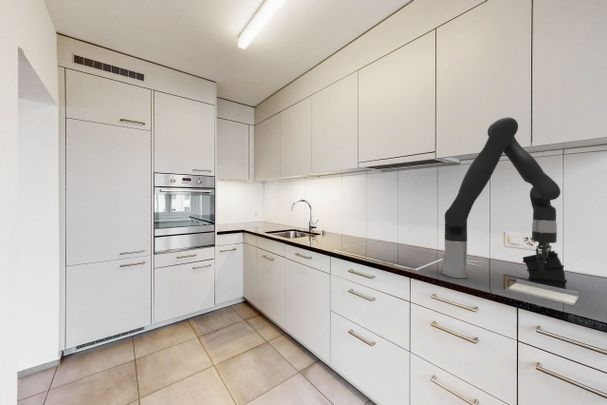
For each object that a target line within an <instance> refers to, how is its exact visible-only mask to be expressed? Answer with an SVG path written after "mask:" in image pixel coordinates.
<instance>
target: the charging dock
mask: <svg viewBox="0 0 607 405" xmlns="http://www.w3.org/2000/svg"><path fill="white" fill-rule="evenodd" d="M508 290H509V291H512V292H515V293H516V292H517V293H521V294H526V295H528V296H529V295H530V296H533V297H534V296H535V297H538V298H541V299H546V300H549V301H554V302H558V303H563V304H567V305H570V306H575V304H576V303H577V301H578V300H579V295H580V294H579V292H580V291H575V290H571V289H566V288H565V289H562V288H557V287H552V286H548V285H543V284H538V283H533V282H529V280H528V281H527V280H523V279H519V278H516V279H515V283H514V284H512V285H510V286H509V287H508Z"/></svg>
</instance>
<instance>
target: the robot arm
mask: <svg viewBox="0 0 607 405" xmlns="http://www.w3.org/2000/svg"><path fill="white" fill-rule="evenodd" d="M518 130H519V123H518V121H517V120H516V119H515V118H513V117H509V116H508V117H503V118H499V119H497V120H496V121H494V122H493V123H491V124H490V125H489V127H488V129H487V132H486V133H487V136H488V139H487V140H486V143H485V144H484V146H483V148H482V150H481V151H480V152H479V153H478V155H477V156H476V157H475V159H474V160H473V161H472V163H471V164H470V165H469V167H468V169H467V171H466V173H465V175H464V178H463V179H462V182H461V185H460V187H459V190H458V192H457V195H456V197H455V199H454V200H453V201H452V203H451V204H450V206H449V208H447V210H446V211H445V213H444V254H442V274H443V275H444V276H448V277H450V278H454V279H466V278H468V264H467V261H468V218H469V216H470V213H471V211H472V208H473V206H474V204H475V202H476V201H477V199H478V198H479V197H480V195H481V193H482V192H483V191H484V189H485V188H486V186H487V184H488V182H489V180H490V179H491V177H492V175H493V173H494V171H495V169H496V167H497V165H498V164H499V161H500V159H501V157H502V154H504V155H505V156H506V157H507V158H508V160H509V161H510V162H511V164H512V165H513V166H514V168H515V169H516V171H517V172H518V174H519V175H520V177H521V178H522V180H523V181H524V182H525V183H528V184H530V185H531V186H532V187H531V188H530V191H529V198H530V204H531V207H532V223H531V240H532V241H533V242H536V243H538V244H537V245H536V249H535V255H536V257H537V262H539V271H541V272H546V263H547V261H546V260H547V258H548V253H549V252H550V251H552V245H550V244H556V243H557V240H558V239H557V236H558V234H557V233H558V232H557V231H558V225H557V209H556V208H555V206H553V205H552V203H551V201H553V200H557V199H558V198H559V197H560V195H561V188H560V187H559V185H558V183H556V181H554V180H553V178H552V177H550V176H549V175H547V173H545V171H544V170H543V168H542V167H541V166H540V164H539V163H538V161H537V160H536V159H535V158H534V157H533V155H531V154H530V152H528V151H527V150H525V149H524V148H523V147H522V145H521V144H520V143H519V141H517V139H516V137H515V136H516V134H517V133H518ZM545 255H546V256H545ZM540 257H542V258H543V259H540Z"/></svg>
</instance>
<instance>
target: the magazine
mask: <svg viewBox="0 0 607 405" xmlns="http://www.w3.org/2000/svg"><path fill="white" fill-rule="evenodd" d="M545 256H546V255H545ZM540 259H543V258H542V257H540ZM546 261H547V263H546V272H541V271H539V262H537V257H536V254H532V255H528V256H527V255H525V256H523V257H522V263H524V264H525V265H526V267H527V268H526V272H528V276H529V277H527V279H528V282H533V283H538V284H543V285H548V286H552V287H557V288H562V289H566V287H567V286H566V284H567V283H568V279H566V274H565V270H564V268H565V266H564V264H562V262H561V259H560V258H559V253H558V252H556V251H555V250H551V251H550V252H549V253H548V258H547V260H546Z"/></svg>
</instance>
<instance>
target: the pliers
mask: <svg viewBox="0 0 607 405" xmlns="http://www.w3.org/2000/svg"><path fill="white" fill-rule="evenodd" d="M475 263H480V264H486V261H480V260H479V261H478V260H467V265H469V266H474V267H475V266H476V267H483V265H480V264H475Z"/></svg>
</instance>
